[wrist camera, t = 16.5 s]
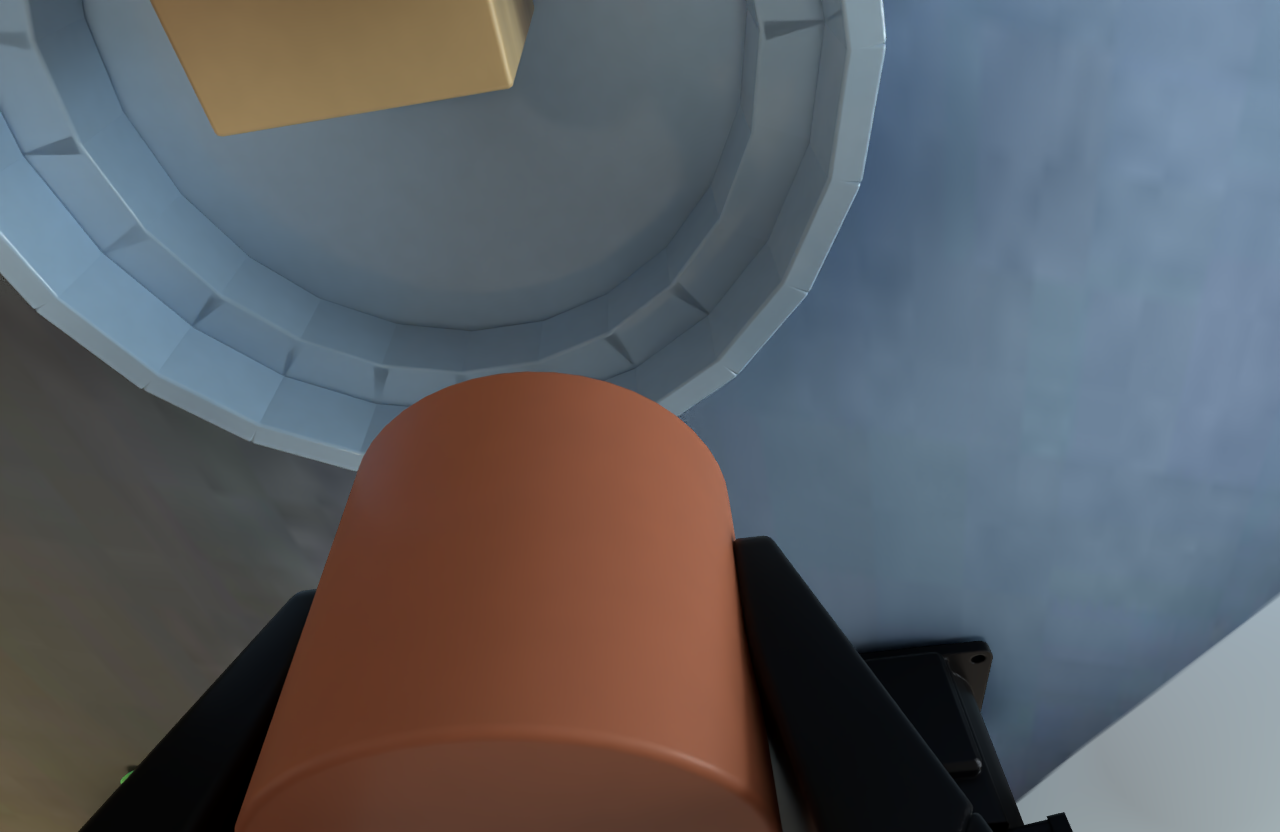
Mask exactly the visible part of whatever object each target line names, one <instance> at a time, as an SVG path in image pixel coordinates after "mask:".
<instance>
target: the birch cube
mask: <svg viewBox="0 0 1280 832" xmlns="http://www.w3.org/2000/svg"><path fill="white" fill-rule="evenodd" d="M150 2H151V4H152V6H153V8H154V10H155V12H156V14H157V16H158V18H159V20H160V22H161V24H162V27H163V29H164V31H165V33H166V35H167V37H168V39H169V41H170V43H171V45H172V47H173V49H174V51H175V53H176V55H177V57H178V59H179V61H180V63H181V65H182V67H183V69H184V71H185V73H186V75H187V77H188V79H189V81H190V83H191V86H192V88H193V90H194V92H195V94H196V96H197V98H198V100H199V102H200V104H201V106H202V108H203V110H204V112H205V114H206V116H207V118H208V120H209V122H210V124H211V126H212V128H213V130H214V132H215V134H216V135H217V136H223V137H224V136H230V135H236V134H242V133H248V132H254V131H260V130H266V129H272V128H277V127H283V126H289V125H295V124H301V123H307V122H313V121H319V120H325V119H331V118H337V117H343V116H349V115H355V114H361V113H367V112H373V111H379V110H385V109H391V108H397V107H403V106H409V105H415V104H421V103H426V102H432V101H438V100H444V99H450V98H456V97H462V96H468V95H474V94H480V93H486V92H492V91H498V90H504V89H509V88H510V87H512V86H513V83H514V79H515V76H516V72H517V69H518V65H519V62H520V58H521V55H522V51H523V48H524V44H525V41H526V37H527V34H528V30H529V27H530V23H531V19H532V16H533V12H534V4H533V0H150Z"/></svg>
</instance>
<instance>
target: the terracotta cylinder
mask: <svg viewBox="0 0 1280 832" xmlns="http://www.w3.org/2000/svg"><path fill="white" fill-rule="evenodd" d="M734 541H735V534H734V528H733V521H732V515H731V509H730V503H729V497H728V492H727V487H726V482H725V480H724V477H723V475H722V472H721V470H720V467H719V465H718V463H717V462H716V460H715V458H714V457H713V455H712V453H711V452H710V450H709V449H708V447H707V446H706V445H705V444H704V443H703V441H702V440H701V439H700V438H699V437H698V436H697V435H696V433H695V432H694V431H693V430H692V429H691V428H690V427H688V426H687V425H686V424H685V423H684V422H683V421H682V420H680V419H679V418H678V417H677V416H676V415H674V414H673V413H671V412H670V411H668V410H667V409H665V408H664V407H662V406H661V405H659V404H658V403H656V402H654V401H652V400H650V399H648V398H646V397H644V396H642V395H640V394H638V393H636V392H634V391H632V390H629V389H626V388H624V387H621V386H618V385H615V384H612V383H610V382H606V381H602V380H598V379H594V378H589V377H585V376H580V375H573V374H565V373H557V372H529V371H526V372H513V373H501V374H495V375H489V376H484V377H479V378H474V379H470V380H467V381H464V382H461V383H457V384H454V385H451V386H448V387H446V388H443V389H441V390H439V391H437V392H435V393H432V394H430V395H428V396H426V397H424V398H423V399H421V400H419V401H418V402H416V403H415V404H413V405H411V406H410V407H408V408H407V409H405V410H404V411H402V412H401V413H400V414H399V415H398V416H397V417H395V418H394V419H393V420H392V421H391V422H389V423H388V424H387V425H386V426H385V427H384V428H383V429H382V431H381V432H380V433H379V434H378V435H377V436H376V438H375V439H374V440H373V441H372V443H371V444H370V446H369V448H368V450H367V451H366V453H365V455H364V456H363V458H362V461H361V464H360V466H359V469H358V472H357V475H356V478H355V481H354V484H353V486H352V489H351V492H350V495H349V498H348V501H347V504H346V507H345V510H344V512H343V515H342V518H341V521H340V524H339V527H338V530H337V533H336V536H335V538H334V541H333V544H332V547H331V550H330V553H329V556H328V559H327V562H326V564H325V567H324V570H323V573H322V576H321V579H320V582H319V585H318V588H317V590H316V593H315V596H314V599H313V602H312V605H311V608H310V611H309V614H308V616H307V619H306V622H305V625H304V628H303V631H302V634H301V637H300V640H299V642H298V645H297V648H296V651H295V654H294V657H293V660H292V663H291V666H290V668H289V671H288V674H287V677H286V680H285V683H284V686H283V689H282V692H281V694H280V697H279V700H278V703H277V706H276V709H275V712H274V715H273V718H272V720H271V723H270V726H269V729H268V732H267V735H266V738H265V741H264V744H263V746H262V749H261V752H260V755H259V758H258V761H257V764H256V767H255V770H254V772H253V775H252V778H251V781H250V784H249V787H248V790H247V793H246V795H245V798H244V801H243V804H242V807H241V810H240V813H239V816H238V819H237V821H236V824H235V832H783V829H782V823H781V817H780V811H779V805H778V799H777V792H776V786H775V780H774V774H773V768H772V762H771V755H770V749H769V743H768V737H767V731H766V725H765V720H764V715H763V709H762V704H761V699H760V694H759V690H758V686H757V682H756V678H755V674H754V669H753V665H752V661H751V656H750V651H749V646H748V641H747V635H746V629H745V623H744V617H743V610H742V604H741V597H740V591H739V585H738V578H737V572H736V565H735V558H734V551H733V542H734Z"/></svg>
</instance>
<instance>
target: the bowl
mask: <svg viewBox="0 0 1280 832" xmlns="http://www.w3.org/2000/svg"><path fill="white" fill-rule="evenodd" d="M533 4H534V12H533V16H532V19H531V23H530V27H529V30H528V34H527V37H526V41H525V44H524V48H523V51H522V55H521V58H520V62H519V65H518V69H517V72H516V76H515V79H514V83H513V86H512V87H510V88H509V89H504V90H498V91H492V92H486V93H480V94H474V95H468V96H462V97H456V98H450V99H444V100H438V101H432V102H426V103H421V104H415V105H409V106H403V107H397V108H391V109H385V110H379V111H373V112H367V113H361V114H355V115H349V116H343V117H337V118H331V119H325V120H319V121H313V122H307V123H301V124H295V125H289V126H283V127H277V128H272V129H266V130H260V131H254V132H248V133H242V134H236V135H230V136H224V137H223V136H217V135H216V134H215V132H214V130H213V128H212V126H211V124H210V122H209V120H208V118H207V116H206V114H205V112H204V110H203V108H202V106H201V104H200V102H199V100H198V98H197V96H196V94H195V92H194V90H193V88H192V86H191V83H190V81H189V79H188V77H187V75H186V73H185V71H184V69H183V67H182V65H181V63H180V61H179V59H178V57H177V55H176V53H175V51H174V49H173V47H172V45H171V43H170V41H169V39H168V37H167V35H166V33H165V31H164V29H163V27H162V24H161V22H160V20H159V18H158V16H157V14H156V12H155V10H154V8H153V6H152V4H151V2H150V0H0V273H1V274H2V276H3V277H4V278H5V279H6V280H7V281H8V282H9V283H10V284H11V285H12V286H13V288H14V289H15V290H16V291H17V292H18V293H19V294H20V295H21V296H22V297H23V298H24V299H25V301H26V302H27V303H28V304H29V305H30V306H31V307H32V308H34V309H36V312H37V313H38V314H40V315H41V316H43V317H44V318H45V319H47V320H48V321H49V322H51V323H52V324H53V325H55V326H56V327H57V328H59V329H60V330H61V331H63V332H64V333H65V334H67V335H68V336H70V337H71V338H72V339H74V340H75V341H76V342H78V343H79V344H80V345H82V346H83V347H84V348H86V349H87V350H88V351H90V352H91V353H92V354H94V355H95V356H97V357H98V358H99V359H101V360H102V361H103V362H105V363H106V364H107V365H109V366H110V367H111V368H113V369H114V370H115V371H117V372H118V373H119V374H121V375H122V376H124V377H125V378H126V379H128V380H129V381H130V382H132V383H133V384H134V385H136V386H137V387H138V388H140V389H142V388H144V390H145V391H146V392H148V393H150V394H152V395H154V396H156V397H158V398H160V399H162V400H164V401H167V402H169V403H171V404H173V405H175V406H177V407H179V408H181V409H183V410H185V411H187V412H189V413H191V414H193V415H195V416H197V417H199V418H201V419H203V420H205V421H207V422H209V423H212V424H214V425H216V426H218V427H220V428H222V429H224V430H226V431H228V432H230V433H232V434H234V435H236V436H238V437H240V438H242V439H244V440H246V441H251V440H252V443H254V444H257V445H261V446H265V447H268V448H272V449H275V450H279V451H283V452H286V453H290V454H294V455H297V456H301V457H304V458H308V459H312V460H315V461H319V462H323V463H326V464H330V465H333V466H337V467H341V468H344V469H348V470H352V471H358V469H359V466H360V464H361V461H362V458H363V456H364V455H365V453H366V451H367V450H368V448H369V446H370V444H371V443H372V441H373V440H374V439H375V438H376V436H377V435H378V434H379V433H380V432H381V431H382V429H383V428H384V427H385V426H386V425H387V424H388V423H389V422H391V421H392V420H393V419H394V418H395V417H397V416H398V415H399V414H400V413H401V412H402V411H404V410H405V409H407V408H408V407H410V406H411V405H413V404H415V403H416V402H418V401H419V400H421V399H423V398H424V397H426V396H428V395H430V394H432V393H435V392H437V391H439V390H441V389H443V388H446V387H448V386H451V385H454V384H457V383H461V382H464V381H467V380H470V379H474V378H479V377H484V376H489V375H495V374H501V373H513V372H526V371H529V372H557V373H565V374H573V375H580V376H585V377H589V378H594V379H598V380H602V381H606V382H610V383H612V384H615V385H618V386H621V387H624V388H626V389H629V390H632V391H634V392H636V393H638V394H640V395H642V396H644V397H646V398H648V399H650V400H652V401H654V402H656V403H658V404H659V405H661V406H662V407H664V408H665V409H667V410H668V411H670V412H671V413H673V414H674V415H676V416H677V417H678V416H679V415H681V414H682V413H684V412H685V411H687V410H688V409H690V408H691V407H693V406H694V405H695V404H697V403H698V402H700V401H701V400H703V399H704V398H706V397H707V396H709V395H710V394H712V393H713V392H715V391H716V390H718V389H719V388H720V387H722V386H723V385H725V384H726V383H728V382H729V381H731V380H732V379H734V378H735V377H736V376H737V374H739V373H740V372H741V371H742V370H743V369H744V367H745V366H746V365H747V364H748V363H749V362H750V361H751V359H752V358H753V357H754V356H755V355H756V354H757V353H758V351H759V350H760V349H761V348H762V347H763V346H764V344H765V343H766V342H767V341H768V340H769V339H770V338H771V336H772V335H773V334H774V333H775V332H776V331H777V330H778V328H779V327H780V326H781V325H782V324H783V323H784V321H785V320H786V319H787V318H788V317H789V316H790V315H791V313H792V312H793V311H794V310H795V309H796V308H797V307H798V305H799V304H800V303H801V302H802V301H803V300H804V298H805V297H806V296H807V294H808V292H809V291H810V290H811V288H812V286H813V284H814V282H815V280H816V278H817V276H818V273H819V271H820V269H821V267H822V265H823V263H824V261H825V259H826V257H827V255H828V253H829V251H830V248H831V246H832V244H833V242H834V240H835V238H836V236H837V234H838V232H839V230H840V228H841V226H842V223H843V221H844V219H845V217H846V215H847V213H848V211H849V209H850V207H851V205H852V203H853V201H854V198H855V196H856V194H857V192H858V190H859V188H860V182H861V181H862V179H863V175H864V170H865V164H866V158H867V153H868V147H869V142H870V136H871V130H872V125H873V119H874V113H875V108H876V102H877V96H878V91H879V85H880V80H881V74H882V68H883V63H884V57H885V51H886V45H885V43H884V42H886V38H887V36H886V25H885V15H884V5H883V0H533Z"/></svg>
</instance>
